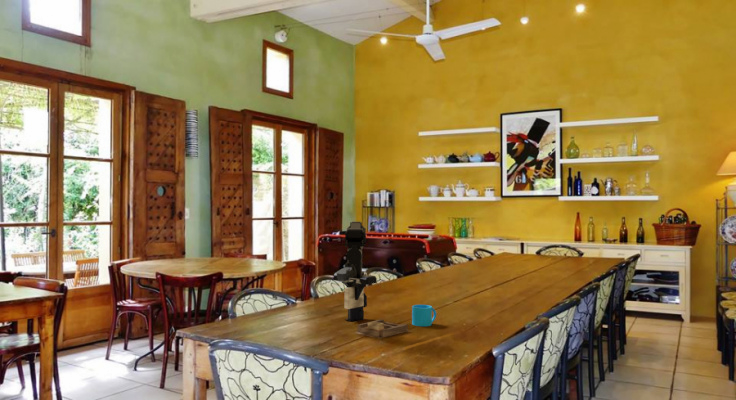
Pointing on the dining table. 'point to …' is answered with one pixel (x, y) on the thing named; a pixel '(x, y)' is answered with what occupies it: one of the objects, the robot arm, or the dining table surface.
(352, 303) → the block
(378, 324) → the offcut top
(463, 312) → the dining table surface
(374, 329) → the offcut low
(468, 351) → the dining table surface
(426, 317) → the mug
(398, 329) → the rack
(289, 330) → the dining table surface
